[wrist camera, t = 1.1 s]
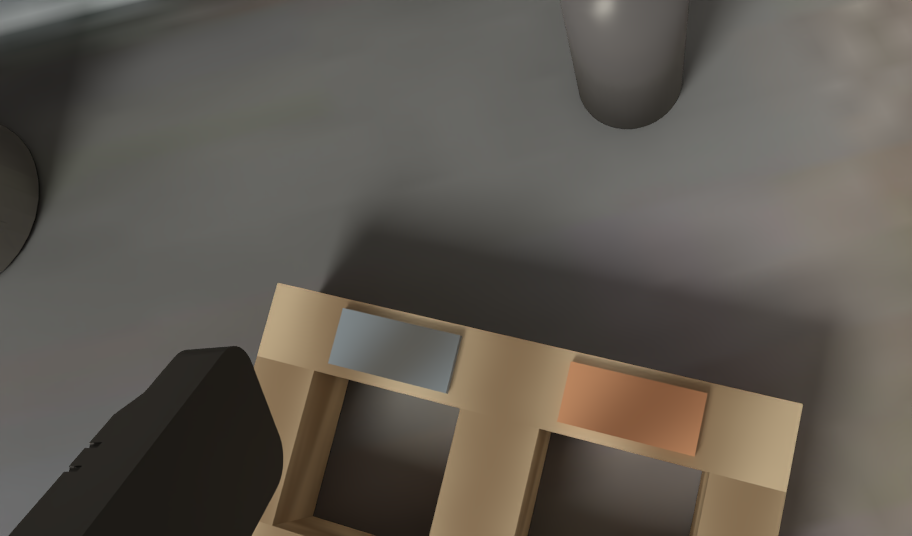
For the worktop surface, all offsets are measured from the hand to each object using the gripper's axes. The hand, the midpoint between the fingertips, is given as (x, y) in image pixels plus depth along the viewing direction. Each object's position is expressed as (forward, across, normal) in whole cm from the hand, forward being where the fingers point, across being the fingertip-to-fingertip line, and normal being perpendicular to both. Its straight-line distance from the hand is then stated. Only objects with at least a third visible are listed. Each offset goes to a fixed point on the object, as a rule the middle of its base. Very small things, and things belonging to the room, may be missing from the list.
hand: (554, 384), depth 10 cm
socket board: (+18, +6, +16) cm, 25 cm away
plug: (+28, 0, +4) cm, 28 cm away
